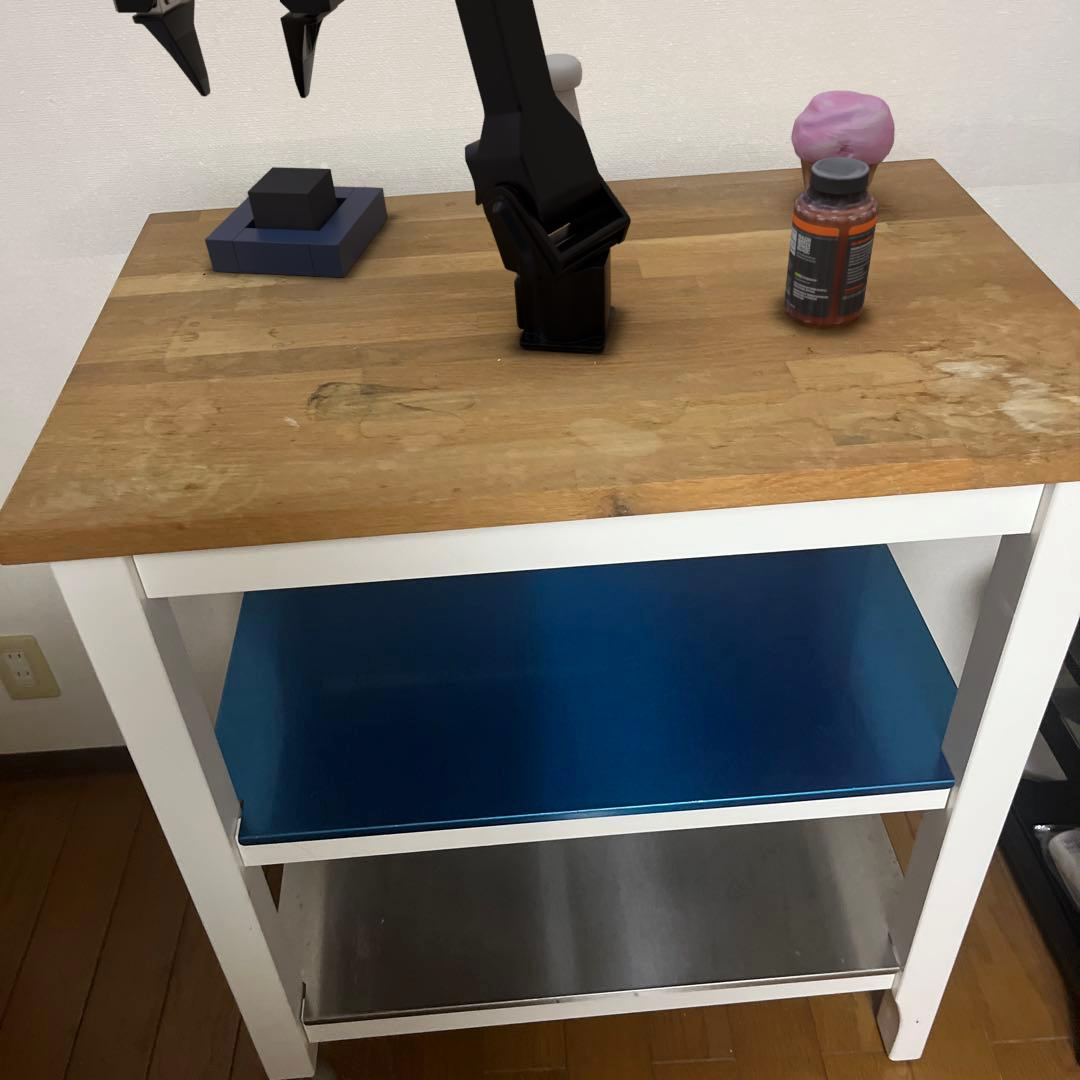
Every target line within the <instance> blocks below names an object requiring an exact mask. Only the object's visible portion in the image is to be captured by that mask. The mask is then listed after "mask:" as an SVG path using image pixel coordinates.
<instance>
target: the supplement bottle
mask: <svg viewBox="0 0 1080 1080" xmlns="http://www.w3.org/2000/svg"><path fill="white" fill-rule="evenodd" d="M869 172H870V170H869V166H868V165H867V164H866V163H864V162H862V161H860V160H857V159H853V158H845V157H834V158H826V159H823V160H820V161H817V162H816V163H815V164H814V165H812V168H811V177H810V182H809V184H810V187H809V188H808V189H807V190H806V191H805V190H804V191H802V192H801V193H800V194H799V195H798V197H797V198H796V200H795V202H794V205H793V211H792V221H791V229H790V230H791V231H790V239H789V241H790V242H789V250H788V259H787V260H788V261H787V268H786V269H787V271H786V280H785V289H784V302H783V304H784V305H783V307H784V310H785V313H786V314H787V316H789V317H790V318H791V319H792V320H794V321H795V322H797V323H800V324H803V325H805V326H811V327H815V328H834V327H842V326H845V325H847V324H849V323H852V322H854V321H855V320H857V319H858V318H859V317H860V315H861V314H862V312H863V308H864V303H865V298H866V291H867V286H868V285H867V284H868V278H869V271H870V266H871V265H870V264H871V260H872V259H871V258H872V252H873V246H874V240H875V232H876V227H877V219H878V210H879V207H878V201H877V200H876V198H875V196H874V195H873V194H872V193H871V192H869V190H868V191H866V188H867V186H868V184H869V182H868V178H869Z"/></svg>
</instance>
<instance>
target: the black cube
mask: <svg viewBox="0 0 1080 1080" xmlns="http://www.w3.org/2000/svg"><path fill="white" fill-rule="evenodd" d="M333 179H334V178H333V174H332V169H331V168H318V167H317V168H315V167H280V166H279V167H277V166H272V167H271V168H270V169H269V170H268V171H267V172H266V173H265V174H264V175H263V176H262V177H261V178H260V179H258V181H257V182H256V183H255V184H254V185H252V186H251V187H250V189H249V190H248V191H247V198H248V197H249V201H250V205H251V209H252V213H253V217H254V222H255V226H256V229H282V230H308V231H320V230H321V229H322V228H323V226H324V225H325V224H326V223H327V222H328V220H329V219H330V218H331V217H332V216H333V215H334V213H335V212H336V211H337V210H338V205H337V200H336V195H335V189H334V186H335V185H334V180H333Z"/></svg>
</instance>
